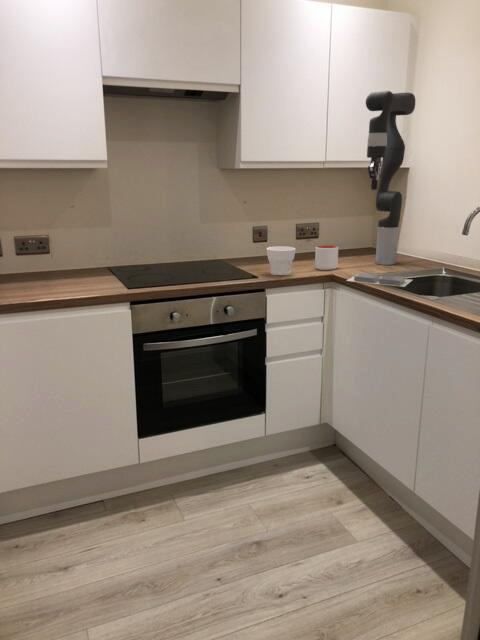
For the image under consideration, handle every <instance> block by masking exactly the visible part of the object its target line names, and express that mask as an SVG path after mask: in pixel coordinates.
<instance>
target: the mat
mask: <svg viewBox="0 0 480 640" xmlns="http://www.w3.org/2000/svg"><path fill="white" fill-rule="evenodd" d="M356 275H357V274H355V275H354V276H356ZM354 276H352V277H350V278H348V279H347V280H345V281H346V282H352V283H353V282H354V283H363V284H364V283H365V284H373V285H384V286H392V287H401V288H405V287H407V285H409V284H410V283H411V282H412V281H413V279H408V278H405V281H404V282H403V283H402V284H401V285H391V284H382V283H379V279H378V280H377V281H375V282H373V283H372V282H362V281H355V280H354ZM381 277H382V276H380V278H381Z"/></svg>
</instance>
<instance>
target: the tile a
mask: <svg viewBox="0 0 480 640" xmlns="http://www.w3.org/2000/svg"><path fill="white" fill-rule="evenodd" d="M355 275H356V276H355ZM355 275H354V280H355V281H362V282H372V283H373V282H375V281H377V280H378V279H380V277H381V274H375V273H366V272H360V273H358V274H355ZM362 282H361V283H362ZM372 283H371V284H372Z"/></svg>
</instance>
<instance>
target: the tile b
mask: <svg viewBox="0 0 480 640" xmlns="http://www.w3.org/2000/svg"><path fill="white" fill-rule="evenodd" d="M380 277H381V278H380V279H379V283H382V284H391V285H401V284H402V283H403V282H404V281H405V279H406V277H405V276H397V275H394V276H393V275H387V274H385V275H383V276H380ZM391 285H390V286H391Z"/></svg>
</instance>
